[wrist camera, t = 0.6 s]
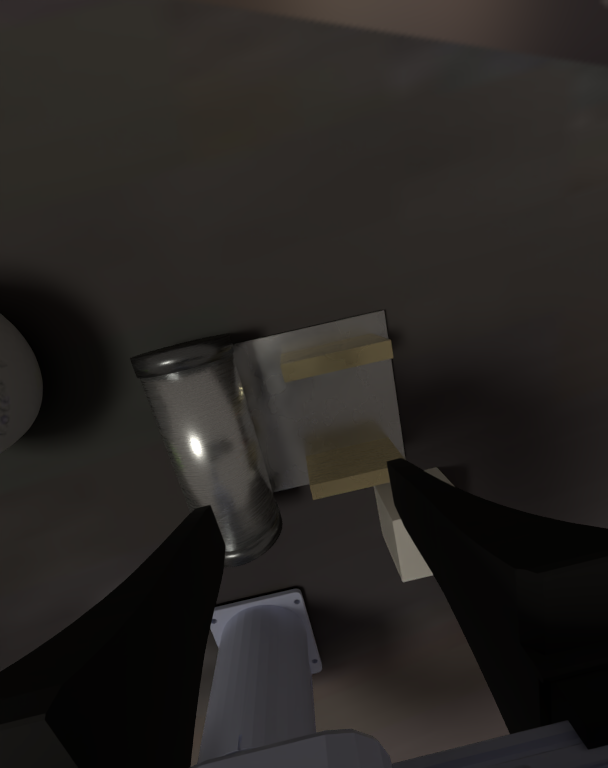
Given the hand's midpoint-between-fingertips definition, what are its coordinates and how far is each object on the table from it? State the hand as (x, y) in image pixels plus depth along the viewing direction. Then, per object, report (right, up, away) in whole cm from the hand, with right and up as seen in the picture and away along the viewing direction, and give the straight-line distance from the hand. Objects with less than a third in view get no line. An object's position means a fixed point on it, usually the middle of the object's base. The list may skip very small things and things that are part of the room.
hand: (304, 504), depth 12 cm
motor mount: (-1, +3, +9) cm, 10 cm away
